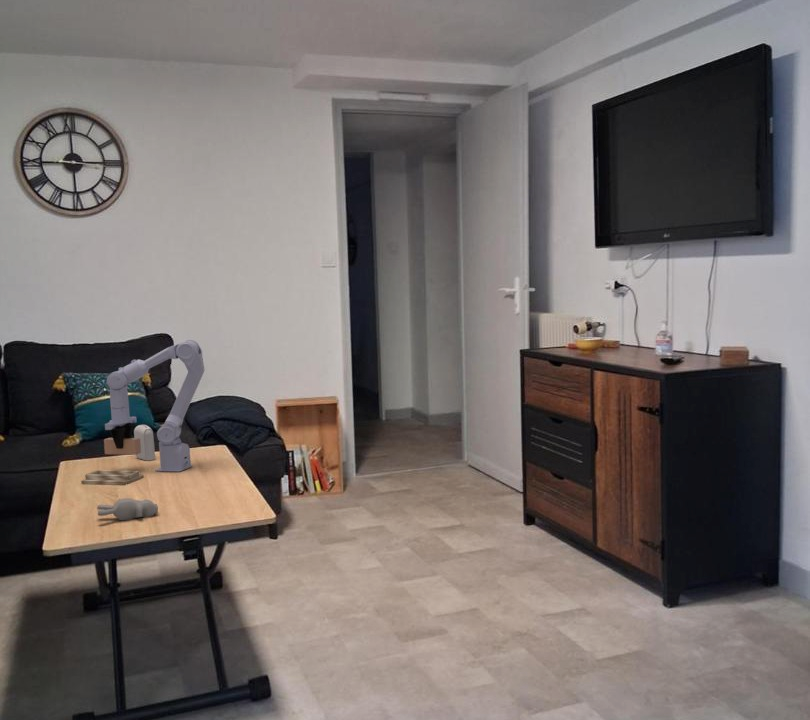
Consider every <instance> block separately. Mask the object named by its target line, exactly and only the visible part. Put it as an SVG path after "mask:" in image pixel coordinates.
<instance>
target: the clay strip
mask: <svg viewBox="0 0 810 720" xmlns="http://www.w3.org/2000/svg"><path fill="white" fill-rule="evenodd" d="M103 446H104V455H119V456H120V455H123V456H124V455H126V456H128V455H131V456H132V455H133V456H136V455H137V454H140V453H141V443H140V438H134V437H131V438H123V448H122V449H117V448H116V445H115V443H114V440H113V438H112V437H108V438H104V439H103Z"/></svg>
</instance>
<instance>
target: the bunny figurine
mask: <svg viewBox="0 0 810 720" xmlns="http://www.w3.org/2000/svg"><path fill="white" fill-rule="evenodd" d="M96 509H97V516H99V517H104V516H108V515H109V516H110V515H113V516H114V517H115V518H117V519H118V520H119V521H120V520H123V521H129V520H130V521H131V520H134V519H137V518H144V517H146V518H151V517H153V516H154V515H155V514H158V512H159V511H158V510H159V507H158V503H154V502H153V501H152V500H150V499H142V500H139V499H137V500H136V499H134V498H128V497H127V498H119V499H118V500H116V501H115V502H114V504H113V505H108V504H98V505H97V507H96Z"/></svg>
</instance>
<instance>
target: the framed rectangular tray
mask: <svg viewBox="0 0 810 720" xmlns="http://www.w3.org/2000/svg"><path fill="white" fill-rule="evenodd" d="M84 477H85V479H82V480H80V482H81V484H82V483H83V484H82V485H107V486H112V485H113V486H126V484H127V485H128V484H132V483H134V482H136V481H138V480H141V479H143V478H144V474H142V473H141V474H140V470H121V469H120V470H117V469H115V470H114V469H113V470H112V469H109V470H108V469H98V470H94V471H91V472H88V473H86V474H85V476H84ZM131 482H132V483H131Z"/></svg>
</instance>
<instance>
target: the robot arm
mask: <svg viewBox="0 0 810 720" xmlns="http://www.w3.org/2000/svg"><path fill="white" fill-rule="evenodd" d="M169 359H170V360H178V359H179V360H180V361H181V362H182V363H183V364H184V366H185V368H186V370H187V374H186V375H185V378H184V381H183V383H182V385H181V388H180V390H179V392H178V395H177V396H176V399H175V401H174V403H173V405H172V408H171V410H170V412H169V414H168V416H167V418H166V419H165V422H164V423H163V425H162V426H160V428H158V430H157V432H156V436H157V439H158V441H159V442H158V448H159V461H160V462H159V463H160V467H159V468H156V469H155V472H182V471H185V470H187V469H189V468H191V467H193V465H192V463H191V462H192V461H191V450H190V449H191V448H190V446H189V444H188V443H185V442H182V440H181V438H180V436H181V433H182V424H183V423H184V419H185V416H186V413H187V411H188V409H189V407H190V404H191V402H192V400H193V398H194V396H195V393H196V391H197V388H198V386H199V384H200V381H201V380H202V377H203V376H204V373H205V365H204V357H203V350H202V347H200V345H199V343H198V342H196V341H195V340H193V339H187V340H185V341H182V342H180V343H177V344H174V345H171V346H168V347H166V348H165V349H163V350H161V351H160V352H159V351H158V352H157V353H155V354H154V355H151V356H149V358H147V359H145V360H142V359H132V360H131V361H130V363H129V364H127V365H125V366H123V367H122V366H120V367H118V370H117V371H113V372H111V373H110V374H109V375H108V376H107V377H106V385H107V386H108V387H109V403H110V413H111V414H110V415H111V419H110V420H109V422H107V423H104V430H105V431H107V432H108V433H109V434H110V436H111V438H113V440H114V443H115V445H116V448H117V449H122V448H123V438H132V435H133V433H134V429H135V428H136V423H137V422H138V421H137V416H131V415H130V405H129V392H128V385H129V384H132V383H134V382H135V381H137V380H139V379H141V378H143V377H144V376H145V377H146V376H147V375H148V373H149V371H150V369H151V368H154V367H155V366H157V365H159V364H162V363H163V362H166V361H167V360H169ZM134 423H135V424H134Z"/></svg>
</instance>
